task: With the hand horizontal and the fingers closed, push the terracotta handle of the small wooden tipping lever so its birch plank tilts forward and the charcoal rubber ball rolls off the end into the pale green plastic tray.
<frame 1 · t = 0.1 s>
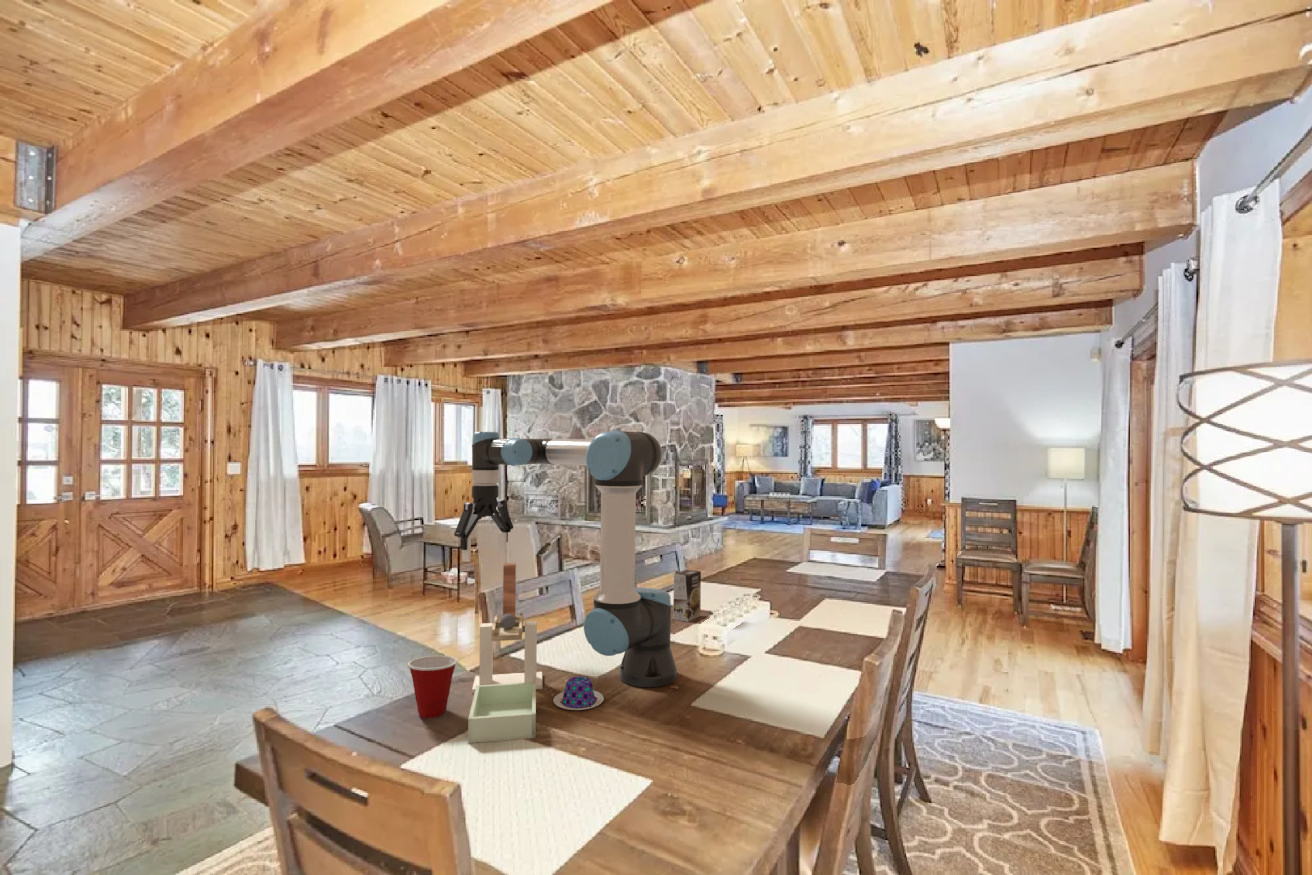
hand: (484, 557, 181), 28 cm above the table, tool pointing down, fingers open, 13 cm apart
plastic cup: (432, 713, 142), on the table
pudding: (578, 702, 149), on the table
tray: (504, 721, 137), on the table
stand: (508, 684, 158), on the table
coffee box: (687, 618, 219), on the table
ball: (507, 621, 151), point 18 cm above the table, touching lever
lever: (508, 599, 154), point 23 cm above the table, hinge at 0.0°, touching ball
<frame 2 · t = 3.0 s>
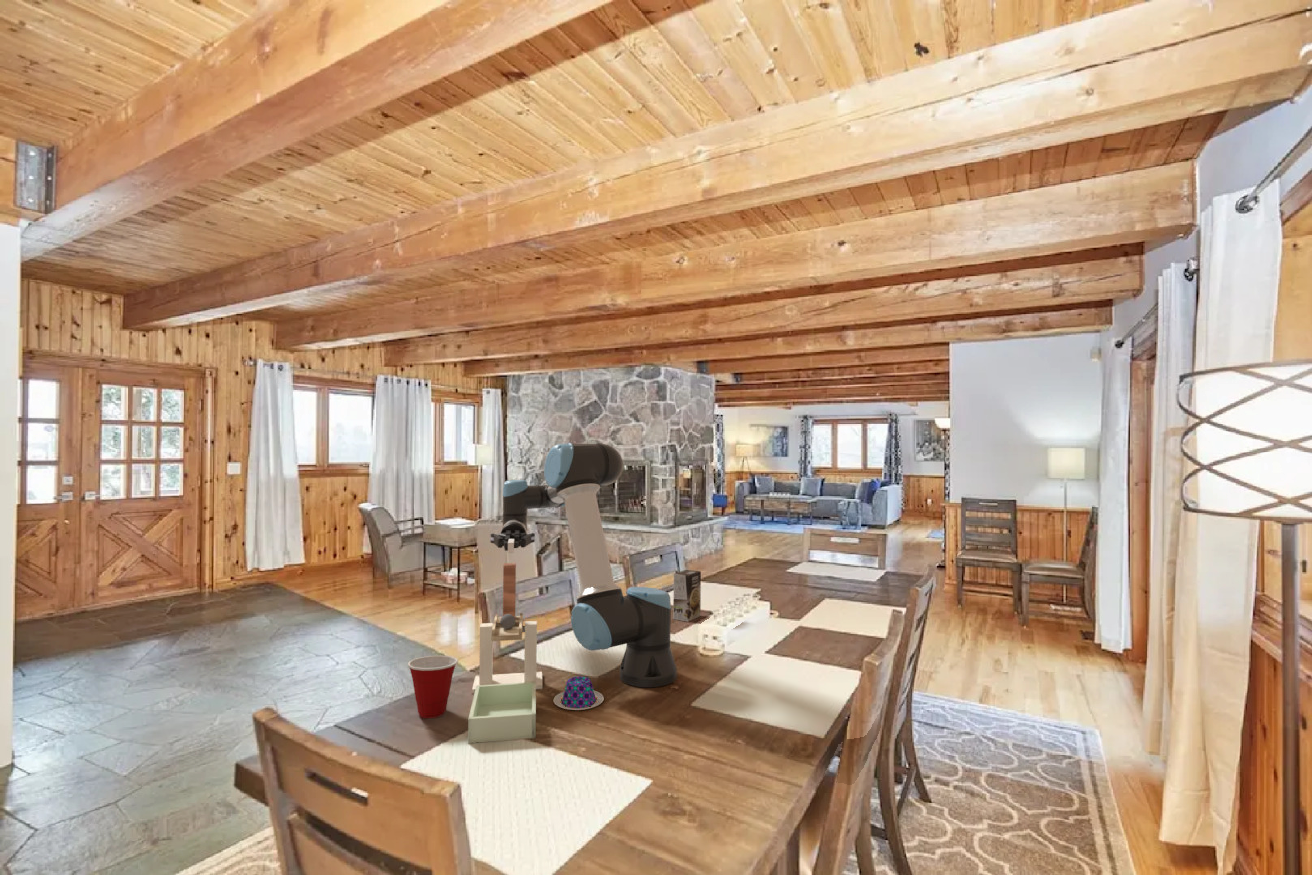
hand: (510, 547, 166), 34 cm above the table, tool horizontal, fingers closed
nothing on the table moved.
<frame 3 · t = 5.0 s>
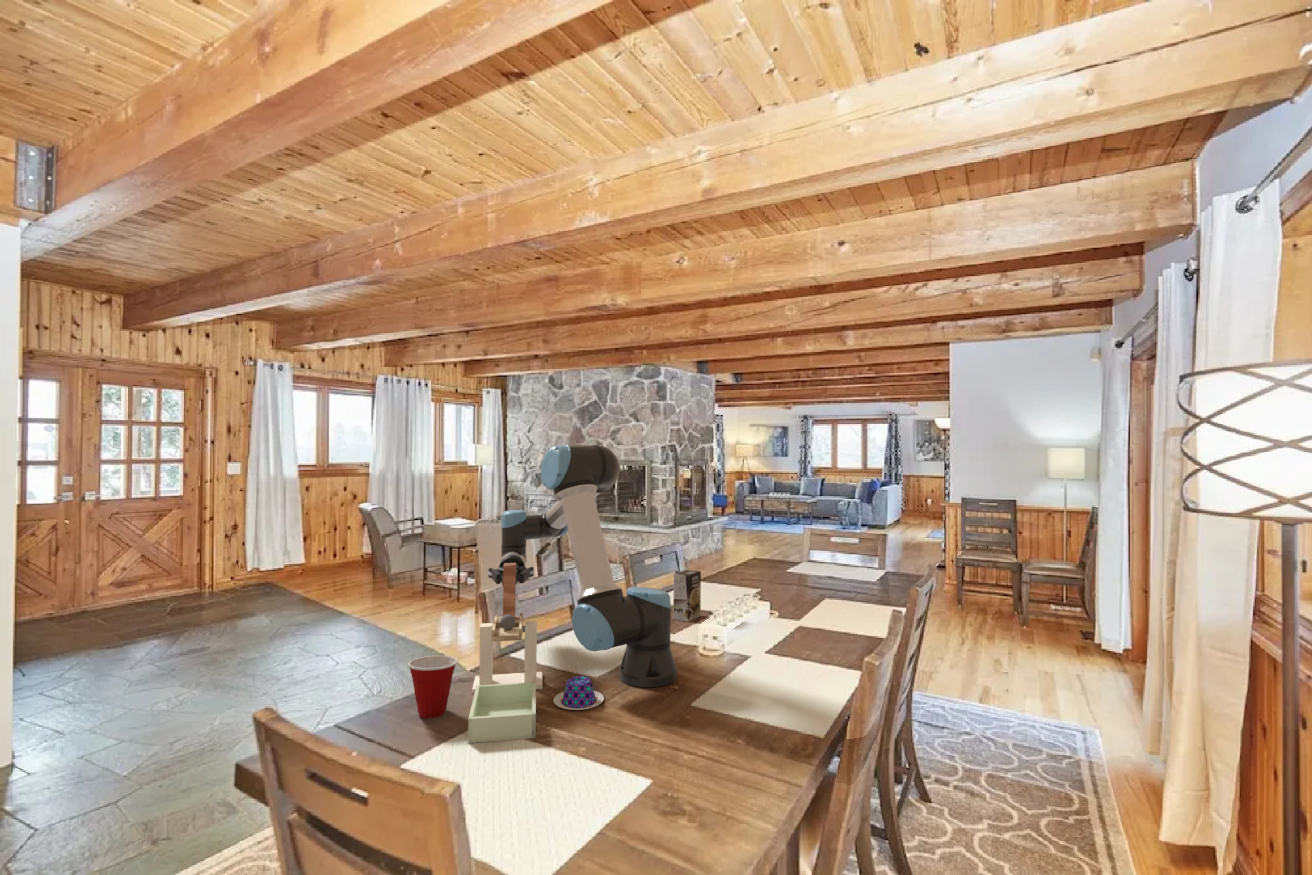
hand: (508, 585, 162), 25 cm above the table, tool horizontal, fingers closed
lever: (508, 599, 154), point 23 cm above the table, hinge at 0.6°, touching ball, gripper
everything else where it was.
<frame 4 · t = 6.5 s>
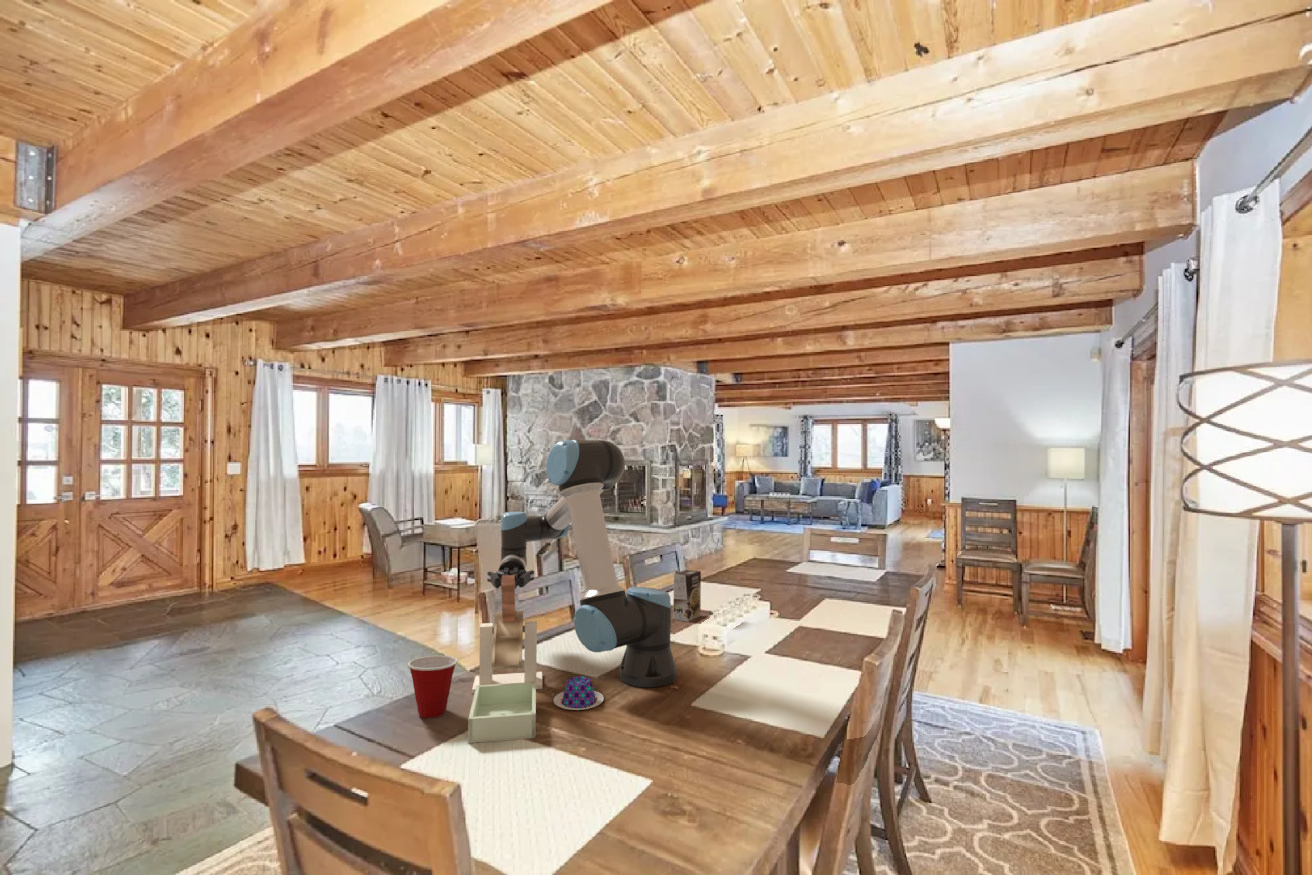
hand: (507, 589, 156), 25 cm above the table, tool horizontal, fingers closed
ball: (502, 723, 131), point 2 cm above the table, tilted 66°, touching tray
lever: (507, 620, 150), point 19 cm above the table, hinge at 35.5°, touching gripper
everything else where it was.
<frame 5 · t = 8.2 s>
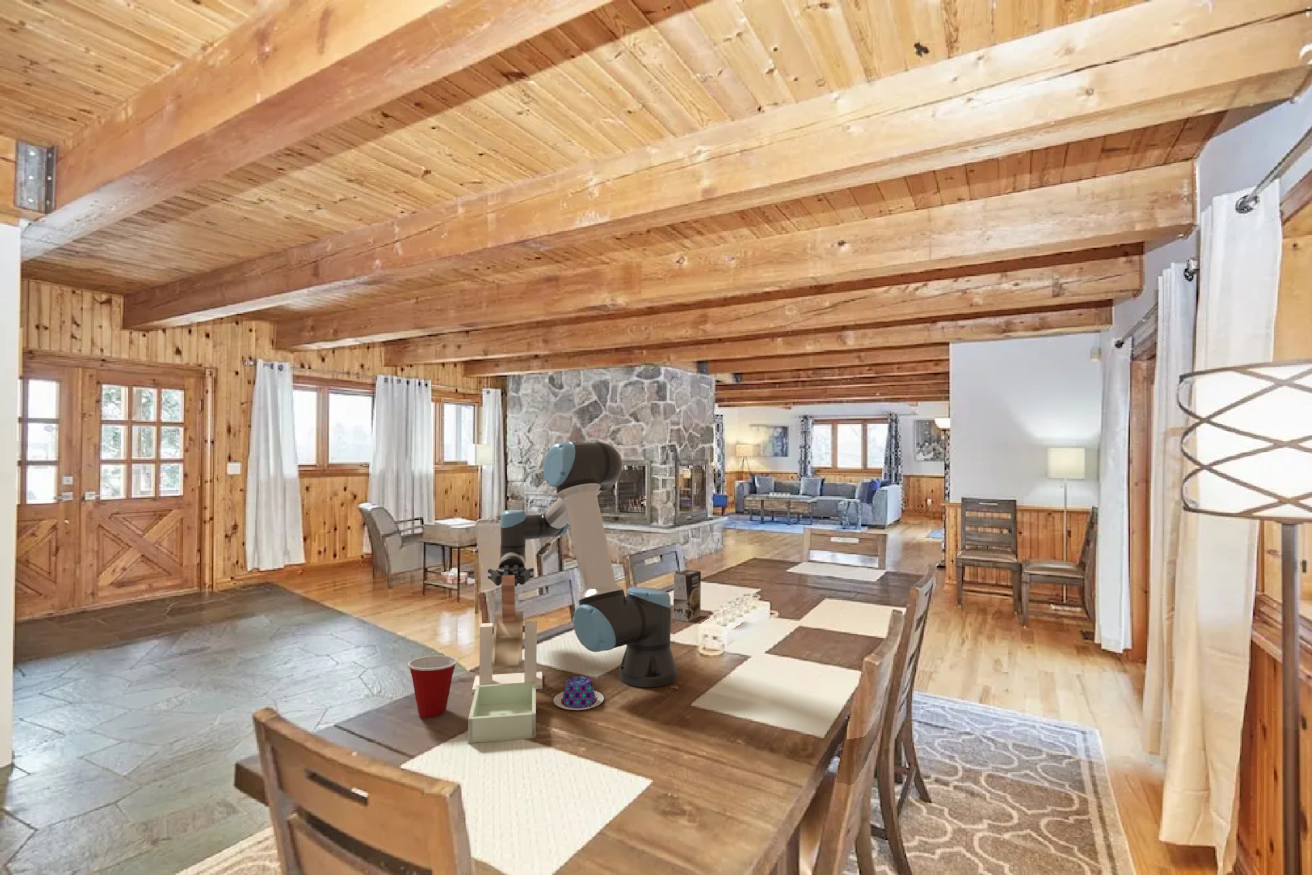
hand: (509, 586, 159), 25 cm above the table, tool horizontal, fingers closed
lever: (507, 620, 150), point 19 cm above the table, hinge at 35.6°
everything else where it was.
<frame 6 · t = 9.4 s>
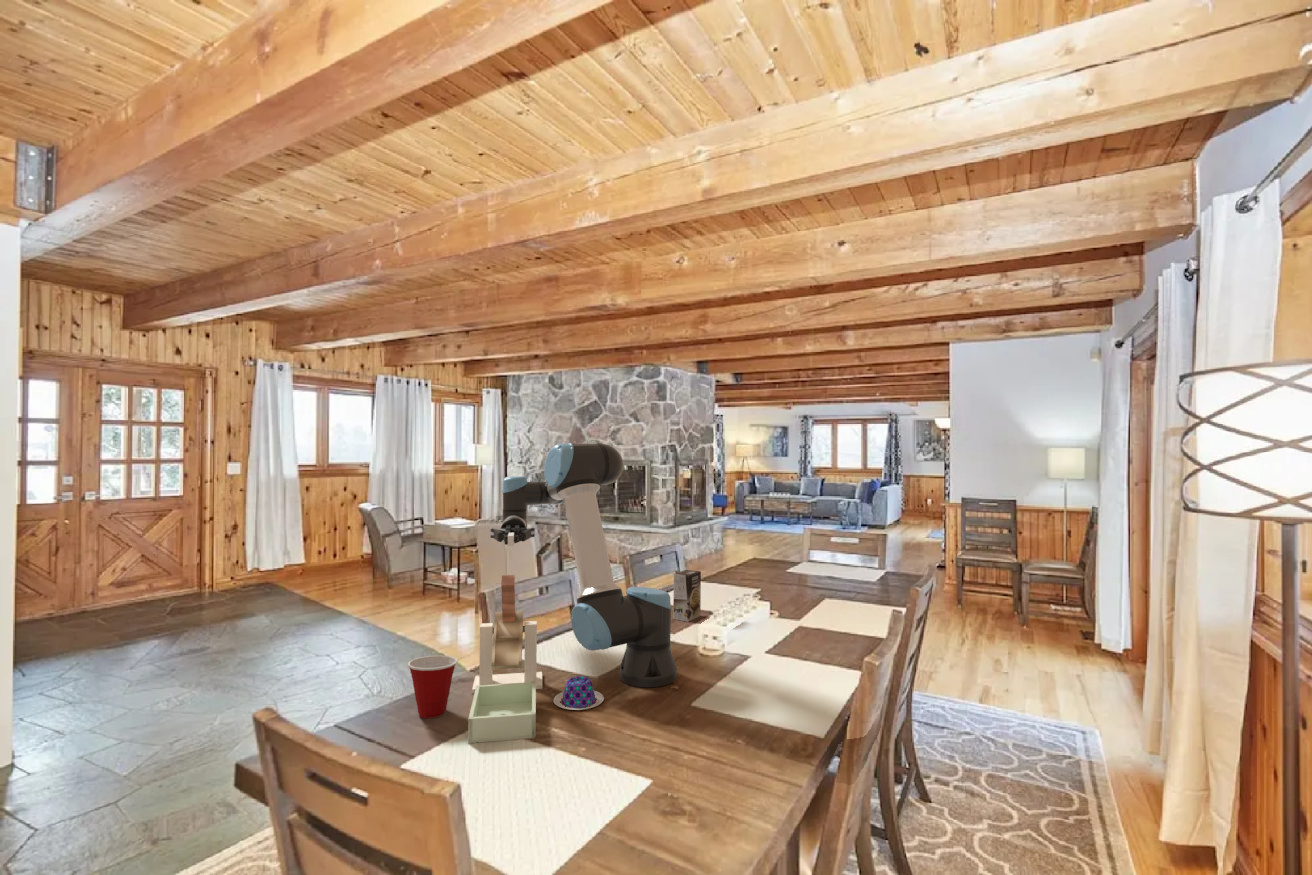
hand: (510, 540, 166), 35 cm above the table, tool horizontal, fingers closed
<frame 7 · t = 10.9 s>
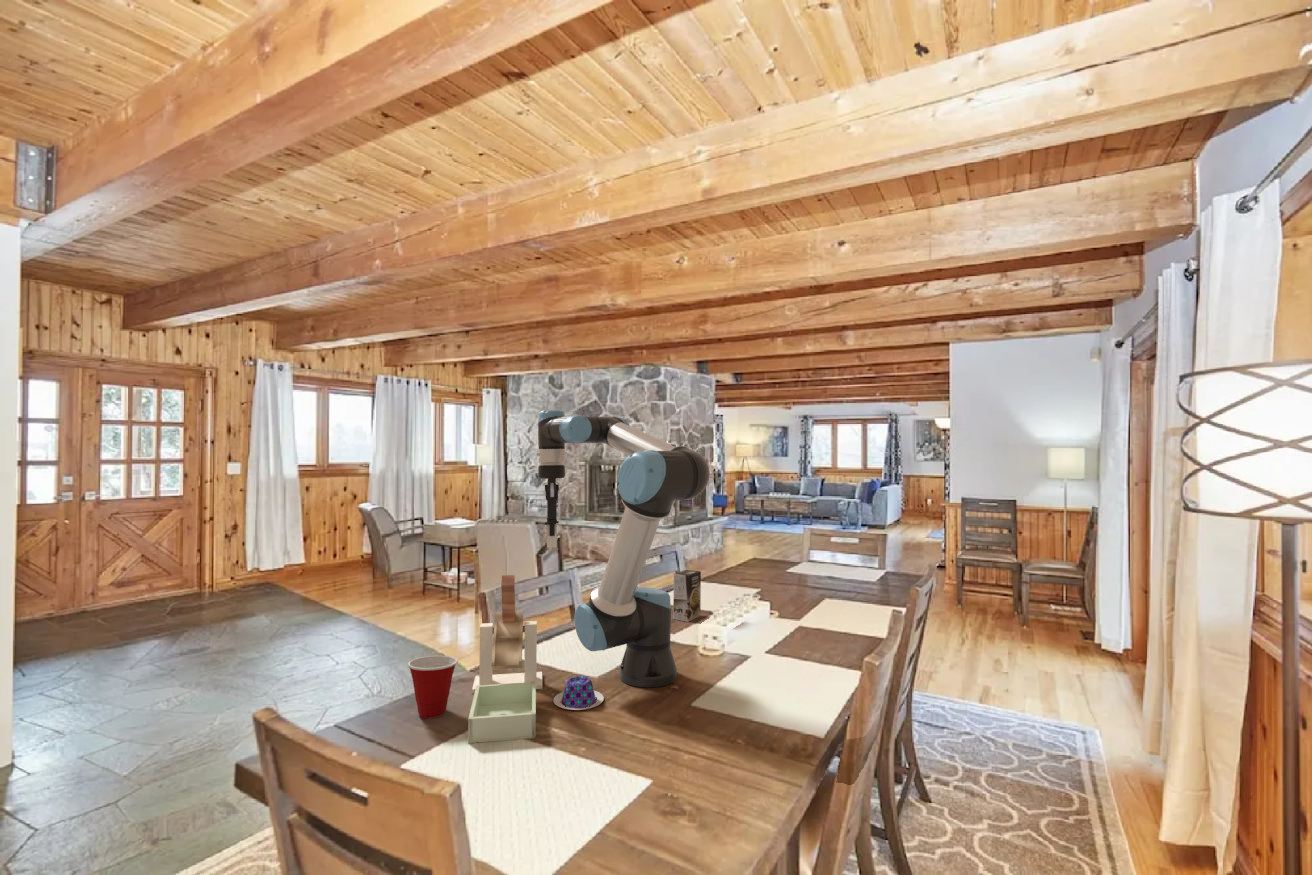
hand: (551, 546, 177), 32 cm above the table, tool pointing down, fingers closed
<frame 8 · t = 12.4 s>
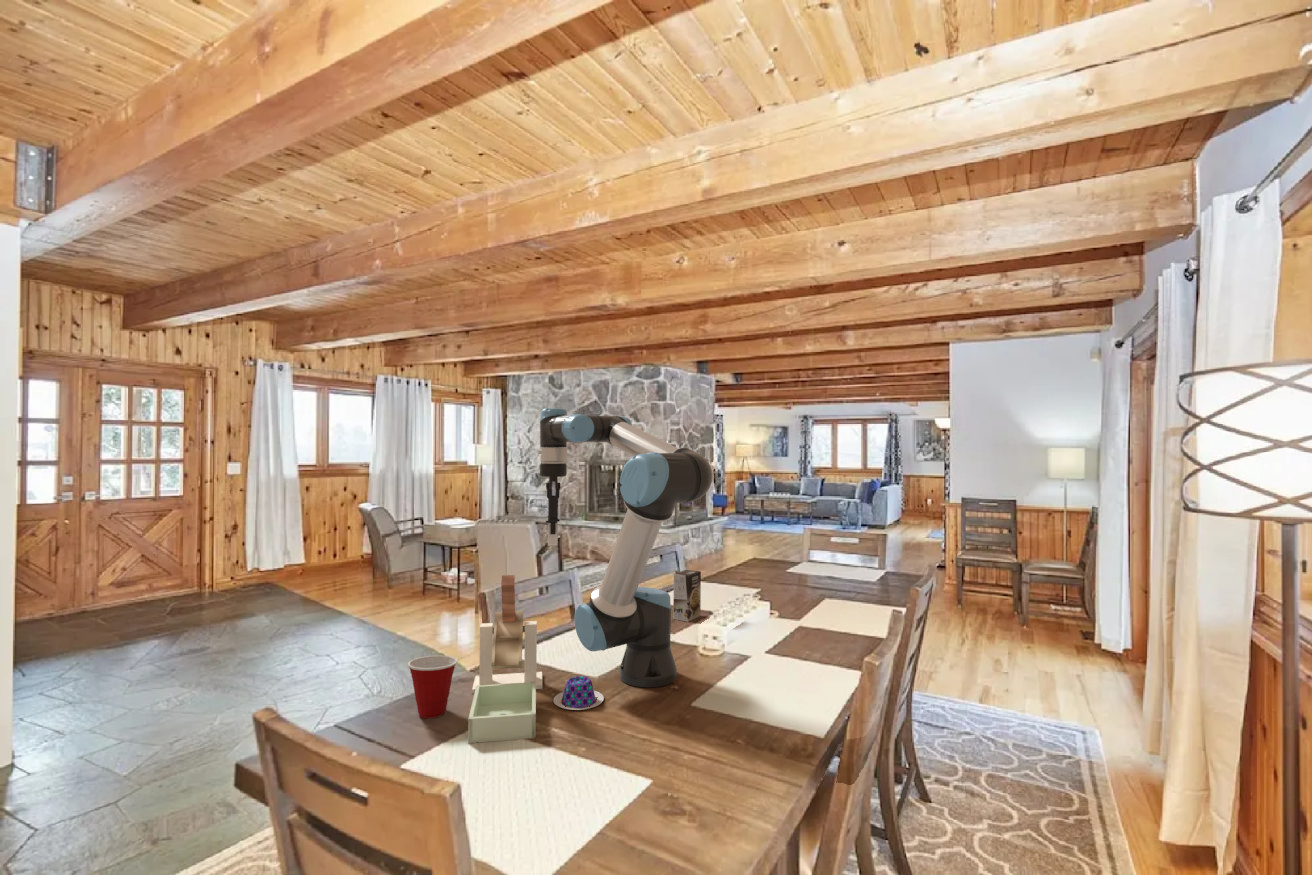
hand: (552, 545, 177), 32 cm above the table, tool pointing down, fingers closed
at the end: ball 6.0 cm from the tray (horizontally); ball point 2.4 cm above the table; lever at +36° (first picture: +0°) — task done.
